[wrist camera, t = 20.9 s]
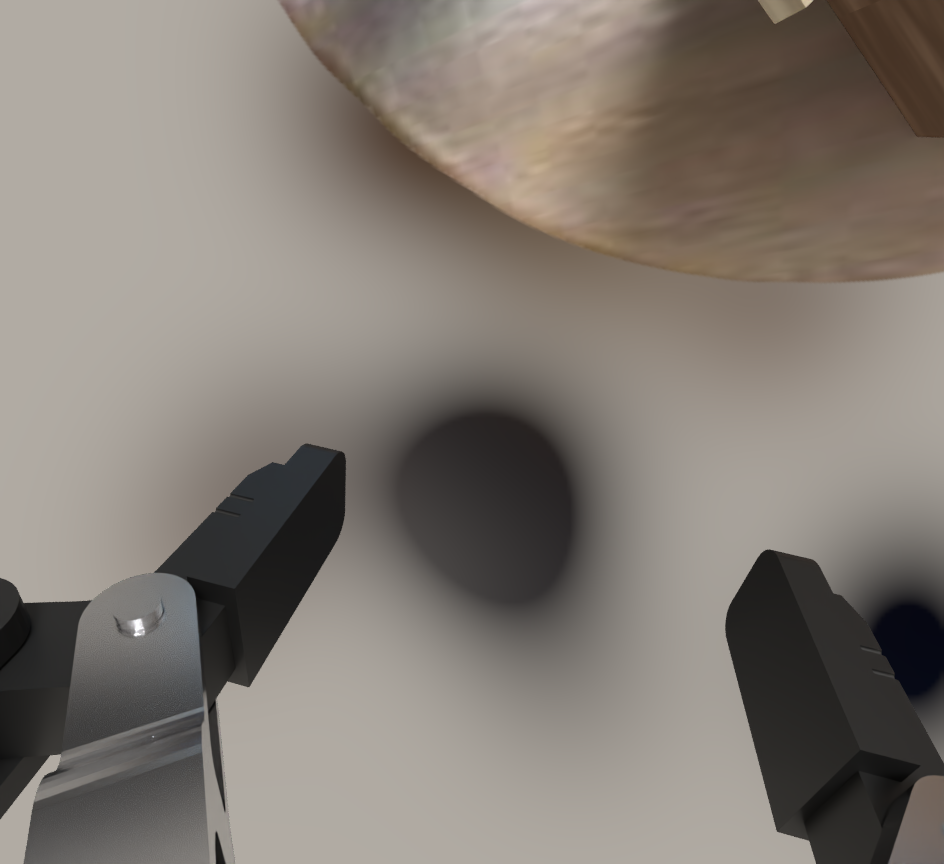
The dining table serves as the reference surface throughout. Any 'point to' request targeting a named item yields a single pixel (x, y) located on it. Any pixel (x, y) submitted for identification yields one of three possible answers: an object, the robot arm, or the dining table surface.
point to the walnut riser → (903, 54)
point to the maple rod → (783, 8)
